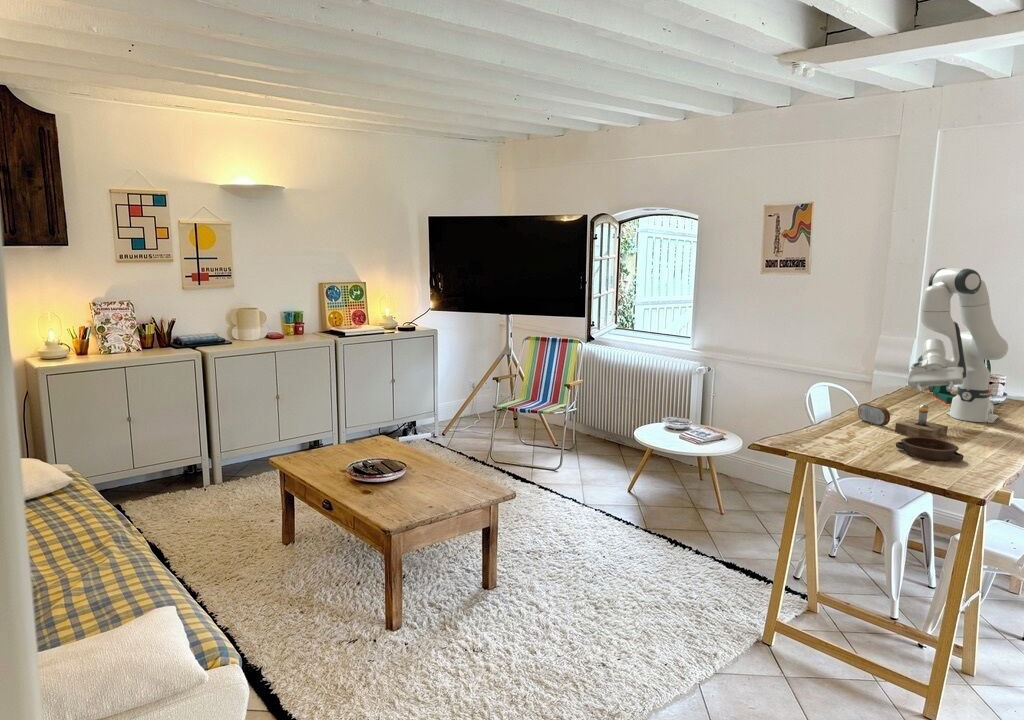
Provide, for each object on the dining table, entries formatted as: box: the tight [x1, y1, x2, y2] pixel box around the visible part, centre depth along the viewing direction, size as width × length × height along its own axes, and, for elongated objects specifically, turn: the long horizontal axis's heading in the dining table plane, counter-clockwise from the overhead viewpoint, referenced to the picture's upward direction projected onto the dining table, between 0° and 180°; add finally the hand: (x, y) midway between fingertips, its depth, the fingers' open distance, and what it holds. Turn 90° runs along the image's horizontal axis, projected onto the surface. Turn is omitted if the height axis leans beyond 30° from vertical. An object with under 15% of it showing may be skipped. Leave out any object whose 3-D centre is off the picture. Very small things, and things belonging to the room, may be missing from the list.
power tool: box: [930, 385, 956, 404], centre depth 341 cm, size 32×7×20 cm, turn 168°
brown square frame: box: [894, 418, 949, 440], centre depth 285 cm, size 14×14×4 cm
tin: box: [857, 402, 891, 427], centre depth 301 cm, size 15×3×8 cm, turn 20°
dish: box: [895, 436, 965, 462], centre depth 256 cm, size 18×22×5 cm
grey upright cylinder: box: [917, 404, 930, 427], centre depth 284 cm, size 3×3×12 cm
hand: (935, 391), depth 288 cm, fingers open, 8 cm apart
